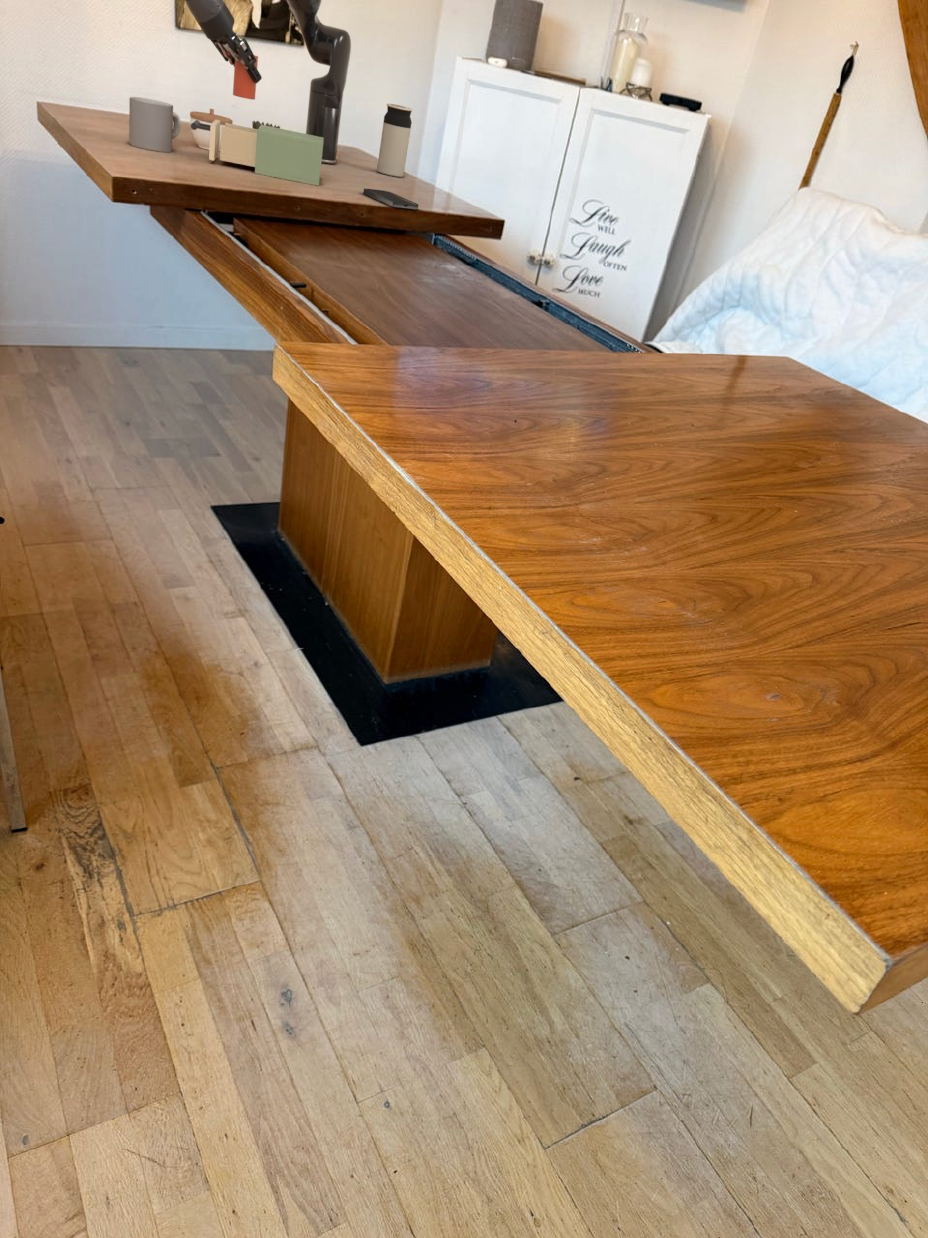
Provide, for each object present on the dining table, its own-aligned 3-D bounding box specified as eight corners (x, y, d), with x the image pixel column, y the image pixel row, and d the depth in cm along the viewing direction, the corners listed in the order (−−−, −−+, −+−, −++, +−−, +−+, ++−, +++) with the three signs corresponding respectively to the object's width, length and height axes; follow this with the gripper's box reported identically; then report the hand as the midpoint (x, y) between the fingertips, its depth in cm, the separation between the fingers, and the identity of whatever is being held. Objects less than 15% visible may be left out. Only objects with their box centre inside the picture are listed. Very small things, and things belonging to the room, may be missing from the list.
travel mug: (378, 173, 268) (388, 104, 258) (375, 169, 274) (384, 101, 265) (405, 178, 270) (415, 110, 260) (401, 174, 276) (411, 107, 267)
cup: (274, 159, 249) (277, 127, 245) (247, 153, 249) (249, 121, 244) (279, 157, 256) (282, 125, 251) (253, 151, 255) (255, 119, 251)
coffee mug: (141, 149, 220) (142, 102, 215) (121, 140, 225) (122, 94, 220) (192, 154, 229) (193, 109, 223) (171, 145, 234) (173, 101, 229)
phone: (388, 190, 234) (420, 204, 225) (387, 195, 235) (419, 209, 225) (361, 187, 229) (393, 201, 220) (361, 192, 230) (392, 206, 221)
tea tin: (230, 93, 221) (233, 50, 216) (252, 97, 223) (255, 55, 218) (234, 96, 217) (237, 52, 212) (256, 100, 219) (260, 57, 214)
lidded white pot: (235, 151, 248) (238, 112, 243) (223, 154, 239) (225, 114, 234) (197, 142, 248) (198, 103, 243) (182, 145, 239) (184, 104, 234)
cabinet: (254, 173, 224) (257, 129, 219) (257, 166, 234) (260, 124, 229) (318, 185, 227) (323, 142, 222) (319, 178, 237) (323, 137, 232)
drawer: (188, 155, 220) (189, 119, 216) (194, 149, 230) (195, 115, 226) (269, 171, 224) (272, 136, 220) (272, 165, 234) (274, 131, 230)
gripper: (236, 1, 201) (278, 72, 215) (205, -7, 210) (247, 62, 224) (213, 25, 201) (257, 94, 215) (182, 16, 209) (226, 84, 223)
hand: (251, 78), depth 219 cm, fingers closed on tea tin, 5 cm apart
